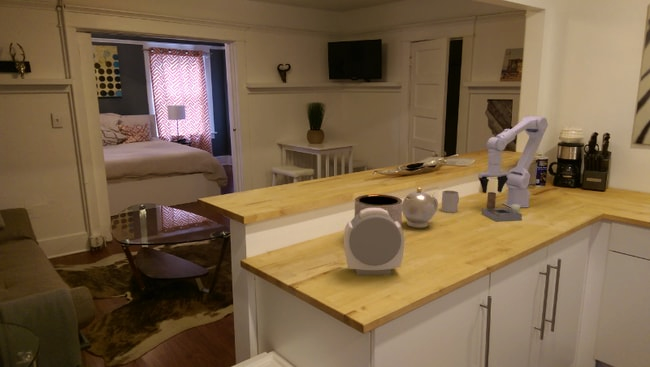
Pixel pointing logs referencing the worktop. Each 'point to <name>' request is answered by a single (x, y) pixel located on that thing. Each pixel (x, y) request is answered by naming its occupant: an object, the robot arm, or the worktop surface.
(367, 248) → the alarm clock
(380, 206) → the planter
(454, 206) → the cup
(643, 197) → the worktop surface
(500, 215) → the collar plate
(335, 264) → the worktop surface
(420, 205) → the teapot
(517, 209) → the pale cream cylinder
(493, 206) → the walnut dowel
